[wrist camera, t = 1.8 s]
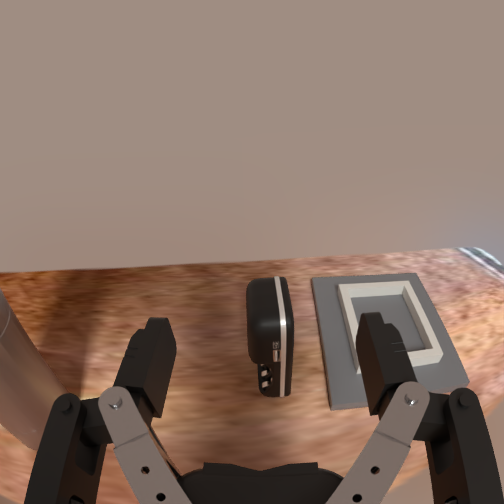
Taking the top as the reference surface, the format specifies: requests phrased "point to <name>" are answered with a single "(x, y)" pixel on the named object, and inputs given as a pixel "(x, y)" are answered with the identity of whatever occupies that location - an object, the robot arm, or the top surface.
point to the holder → (393, 311)
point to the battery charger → (271, 334)
